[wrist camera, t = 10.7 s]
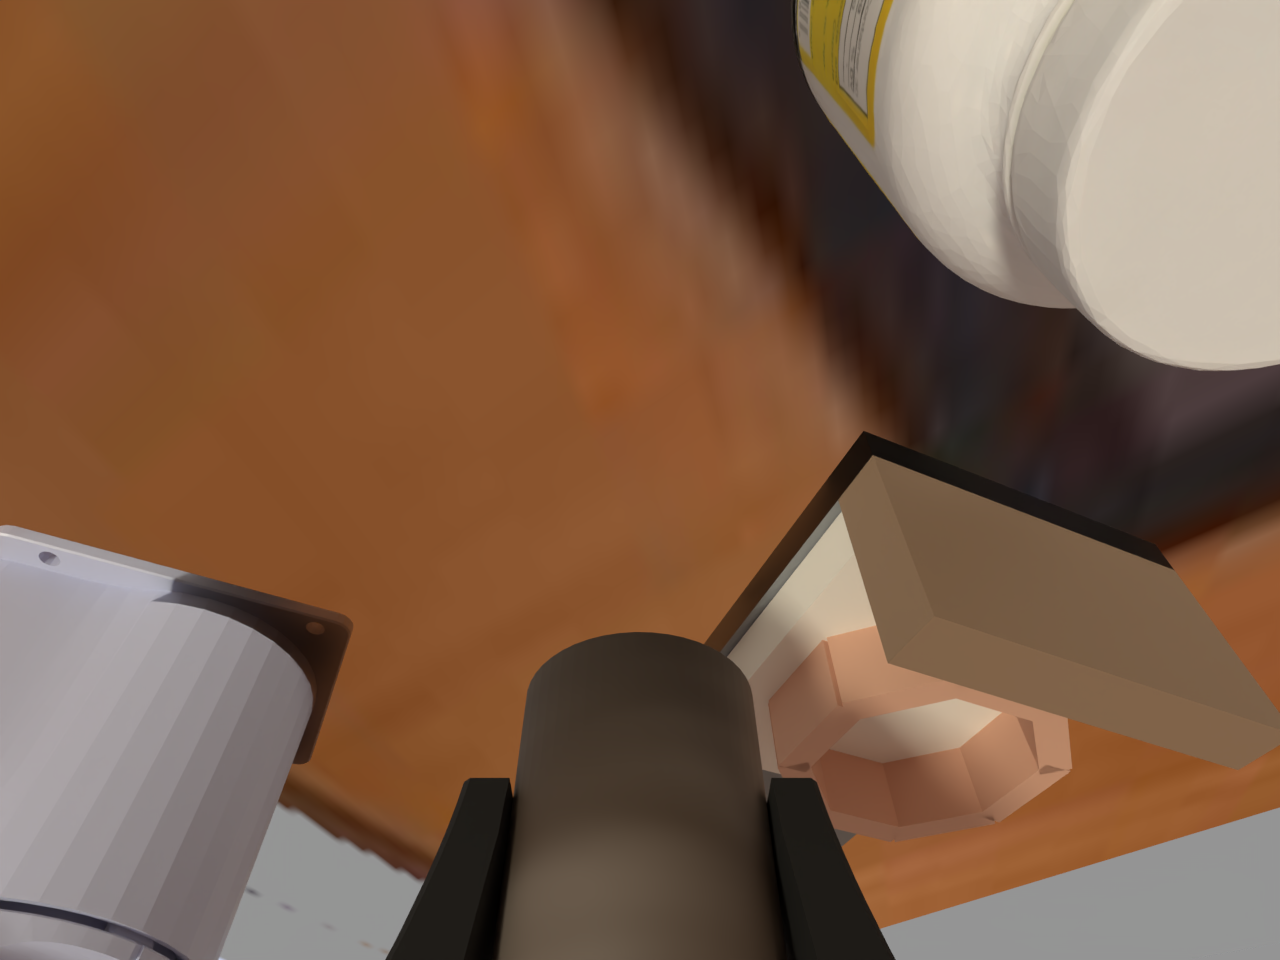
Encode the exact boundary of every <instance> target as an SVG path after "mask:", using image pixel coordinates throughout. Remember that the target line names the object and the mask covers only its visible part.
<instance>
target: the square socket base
mask: <svg viewBox="0 0 1280 960" xmlns="http://www.w3.org/2000/svg"><path fill="white" fill-rule="evenodd" d="M727 658H729V659H730V660H731V661H733V662H734V663H735V664H736V665H737V666H738V667H739V668H740V670H741V671H742V672H743V674H744V675H745V677H746V678H747V680H748V682H749V685H750V687H751V691H752V695H753V703H754V711H755V718H756V726H757V733H758V741H759V748H760V756H761V764H762V770H766V771H770V772H774V773H778V774H781V776H782V778H812V779H813V780H815V781H816V782H817V784H818V787H819V790H820V793H821V796H822V798H823V801H824V804H825V807H826V809H827V812H828V815H829V817H830V820H831V822H832V825H833V827H834V829H838V830H842V831H846V832H851V833H855V834H859V835H863V836H867V837H872V838H876V839H880V840H884V841H888V842H891V841H893V840H895V842H898V841H904V840H909V839H915V838H920V837H926V836H931V835H937V834H942V833H948V832H953V831H959V830H964V829H970V828H975V827H981V826H986V825H992V824H995V821H997V822H1001V821H1002V820H1003V819H1005V818H1006V817H1008V816H1009V815H1010V814H1012V813H1013V812H1015V811H1016V810H1017V809H1019V808H1020V807H1022V806H1023V805H1024V804H1026V803H1027V802H1029V801H1030V800H1031V799H1033V798H1034V797H1036V796H1037V795H1038V794H1040V793H1041V792H1043V791H1044V790H1045V789H1047V788H1048V787H1050V786H1051V785H1052V784H1054V783H1055V782H1057V781H1058V780H1059V779H1061V778H1062V777H1064V776H1065V775H1066V774H1068V773H1069V772H1070V770H1069V769H1072V761H1071V750H1070V739H1069V729H1068V718H1065V717H1062V716H1059V715H1056V714H1052V713H1049V712H1046V711H1043V710H1039V709H1036V708H1033V707H1029V706H1026V705H1023V704H1020V703H1016V702H1013V701H1010V700H1006V699H1003V698H1000V697H997V696H993V695H990V694H987V693H984V692H980V691H977V690H974V689H970V688H967V687H964V686H961V685H957V684H954V683H951V682H948V681H944V680H941V679H938V678H934V677H931V676H928V675H925V674H921V673H918V672H915V671H911V670H908V669H905V668H902V667H898V666H895V665H892V664H889V663H888V662H887V659H886V656H885V652H884V649H883V646H882V643H881V639H880V636H879V633H878V629H877V626H876V623H875V620H874V616H873V613H872V610H871V606H870V603H869V600H868V596H867V593H866V590H865V587H864V583H863V580H862V577H861V573H860V570H859V567H858V564H857V560H856V557H855V554H854V550H853V547H852V544H851V540H850V537H849V534H848V531H847V527H846V524H845V521H844V517H843V514H842V512H841V513H840V514H839V515H838V517H837V518H836V519H835V520H834V522H833V523H832V524H831V526H830V527H829V528H828V529H827V531H826V532H825V533H824V534H823V536H822V537H821V538H820V540H819V541H818V542H817V543H816V545H815V546H814V547H813V548H812V550H811V551H810V552H809V553H808V555H807V556H806V557H805V559H804V560H803V561H802V562H801V564H800V565H799V566H798V567H797V569H796V570H795V571H794V572H793V574H792V575H791V576H790V578H789V579H788V580H787V581H786V583H785V584H784V585H783V586H782V588H781V589H780V590H779V592H778V593H777V594H776V595H775V597H774V598H773V599H772V600H771V602H770V603H769V604H768V605H767V607H766V608H765V609H764V611H763V612H762V613H761V614H760V616H759V617H758V618H757V619H756V621H755V622H754V623H753V625H752V626H751V627H750V628H749V630H748V631H747V632H746V633H745V635H744V636H743V637H742V638H741V640H740V641H739V642H738V644H737V645H736V646H735V647H734V649H733V650H732V651H731V652H730V654H729V655H728V656H727Z"/></svg>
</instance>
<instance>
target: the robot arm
mask: <svg viewBox="0 0 1280 960" xmlns="http://www.w3.org/2000/svg"><path fill="white" fill-rule="evenodd" d="M318 623H319V624H318ZM352 631H353V623H352V621H351V619H349V618H348V617H347V616H346V615H343V614H341V613H338V612H334V611H330V610H326V609H323V608H319V607H315V606H312V605H308V604H304V603H300V602H297V601H293V600H289V599H286V598H282V597H278V596H274V595H271V594H267V593H263V592H259V591H256V590H252V589H248V588H245V587H241V586H237V585H233V584H230V583H226V582H222V581H219V580H215V579H211V578H207V577H204V576H200V575H196V574H192V573H189V572H185V571H181V570H178V569H174V568H170V567H166V566H163V565H159V564H155V563H152V562H148V561H144V560H140V559H137V558H133V557H129V556H125V555H122V554H118V553H114V552H111V551H107V550H103V549H99V548H96V547H92V546H88V545H85V544H81V543H77V542H73V541H70V540H66V539H62V538H58V537H55V536H51V535H47V534H44V533H40V532H36V531H32V530H29V529H25V528H21V527H18V526H12V525H3V526H0V960H219V957H220V954H221V952H222V949H223V946H224V944H225V941H226V938H227V936H228V933H229V930H230V928H231V925H232V922H233V920H234V917H235V914H236V912H237V909H238V906H239V904H240V901H241V898H242V896H243V893H244V890H245V888H246V885H247V882H248V880H249V877H250V874H251V872H252V869H253V866H254V864H255V861H256V858H257V856H258V853H259V850H260V848H261V845H262V842H263V840H264V837H265V835H266V832H267V829H268V827H269V824H270V821H271V819H272V816H273V813H274V811H275V808H276V805H277V803H278V800H279V797H280V795H281V792H282V789H283V787H284V784H285V781H286V779H287V776H288V773H289V771H290V768H291V765H292V764H305V763H307V762H309V761H310V759H311V757H312V754H313V751H314V748H315V745H316V742H317V739H318V736H319V733H320V730H321V727H322V724H323V721H324V717H325V714H326V711H327V708H328V705H329V702H330V699H331V696H332V693H333V690H334V687H335V683H336V680H337V677H338V674H339V671H340V668H341V665H342V662H343V659H344V656H345V653H346V649H347V646H348V643H349V640H350V637H351V634H352ZM512 803H513V794H512V789H511V783H510V778H469V779H468V780H466V781H465V782H464V783H463V786H462V789H461V792H460V795H459V798H458V801H457V804H456V807H455V809H454V812H453V814H452V817H451V820H450V822H449V825H448V827H447V830H446V832H445V835H444V837H443V840H442V842H441V844H440V847H439V849H438V851H437V854H436V856H435V858H434V860H433V863H432V865H431V867H430V870H429V872H428V874H427V876H426V879H425V881H424V883H423V885H422V887H421V889H420V891H419V893H418V895H417V897H416V899H415V901H414V904H413V906H412V908H411V910H410V912H409V914H408V916H407V918H406V920H405V922H404V924H403V926H402V928H401V930H400V932H399V934H398V936H397V938H396V940H395V942H394V944H393V946H392V948H391V950H390V952H389V954H388V955H387V957H386V959H385V960H492V953H493V946H494V938H495V931H496V923H497V916H498V908H499V901H500V893H501V886H502V878H503V870H504V863H505V855H506V848H507V840H508V833H509V825H510V818H511V810H512ZM767 809H768V817H769V824H770V832H771V839H772V847H773V855H774V862H775V870H776V877H777V885H778V893H779V900H780V908H781V915H782V923H783V930H784V938H785V946H786V953H787V960H896V959H895V957H894V955H893V954H892V952H891V950H890V948H889V946H888V944H887V942H886V940H885V938H884V936H883V934H882V932H881V930H880V928H879V926H878V924H877V922H876V920H875V918H874V916H873V914H872V912H871V910H870V908H869V906H868V904H867V902H866V900H865V898H864V896H863V893H862V891H861V889H860V887H859V885H858V883H857V881H856V879H855V876H854V874H853V872H852V870H851V867H850V865H849V863H848V861H847V858H846V856H845V854H844V851H843V849H842V847H841V844H840V842H839V840H838V837H837V835H836V832H835V830H834V827H833V825H832V822H831V820H830V817H829V815H828V812H827V809H826V807H825V804H824V801H823V798H822V796H821V793H820V790H819V787H818V784H817V782H816V781H815V780H813V779H812V778H771V783H770V789H769V794H768V799H767Z"/></svg>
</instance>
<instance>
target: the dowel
mask: <svg viewBox="0 0 1280 960" xmlns="http://www.w3.org/2000/svg"><path fill="white" fill-rule="evenodd" d="M492 960H787V953H786V946H785V938H784V930H783V923H782V915H781V908H780V900H779V893H778V885H777V877H776V870H775V862H774V855H773V847H772V839H771V832H770V824H769V817H768V809H767V802H766V794H765V786H764V779H763V771H762V764H761V756H760V748H759V741H758V733H757V726H756V718H755V711H754V703H753V695H752V691H751V687H750V685H749V682H748V680H747V678H746V677H745V675H744V674H743V672H742V671H741V670H740V668H739V667H738V666H737V665H736V664H735V663H734V662H733V661H731V660H730V659H729V658H727V657H726V656H725V655H723V654H722V653H720V652H718V651H717V650H715V649H713V648H711V647H709V646H707V645H704V644H702V643H700V642H697V641H694V640H691V639H687V638H684V637H680V636H675V635H670V634H662V633H653V632H627V633H616V634H610V635H603V636H599V637H595V638H591V639H588V640H585V641H582V642H580V643H577V644H574V645H572V646H570V647H568V648H566V649H564V650H562V651H560V652H559V653H557V654H556V655H554V656H553V657H551V658H550V659H549V660H548V661H547V662H545V663H544V664H543V665H542V666H541V667H540V669H539V670H538V671H537V672H536V673H535V675H534V677H533V678H532V680H531V682H530V685H529V687H528V690H527V697H526V704H525V712H524V719H523V727H522V735H521V742H520V750H519V757H518V765H517V772H516V780H515V787H514V795H513V803H512V810H511V818H510V825H509V833H508V840H507V848H506V855H505V863H504V870H503V878H502V886H501V893H500V901H499V908H498V916H497V923H496V931H495V938H494V946H493V953H492Z"/></svg>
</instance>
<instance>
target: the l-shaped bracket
mask: <svg viewBox="0 0 1280 960" xmlns="http://www.w3.org/2000/svg"><path fill="white" fill-rule="evenodd" d="M841 512H842V514H843V517H844V521H845V524H846V527H847V531H848V534H849V537H850V540H851V544H852V547H853V550H854V554H855V557H856V560H857V564H858V567H859V570H860V573H861V577H862V580H863V583H864V587H865V590H866V593H867V596H868V600H869V603H870V606H871V610H872V613H873V616H874V620H875V623H876V626H877V629H878V633H879V636H880V639H881V643H882V646H883V649H884V652H885V656H886V659H887V662H888V663H889V664H892V665H895V666H898V667H902V668H905V669H908V670H911V671H915V672H918V673H921V674H925V675H928V676H931V677H934V678H938V679H941V680H944V681H948V682H951V683H954V684H957V685H961V686H964V687H967V688H970V689H974V690H977V691H980V692H984V693H987V694H990V695H993V696H997V697H1000V698H1003V699H1006V700H1010V701H1013V702H1016V703H1020V704H1023V705H1026V706H1029V707H1033V708H1036V709H1039V710H1043V711H1046V712H1049V713H1052V714H1056V715H1059V716H1062V717H1065V718H1069V719H1072V720H1075V721H1079V722H1082V723H1085V724H1088V725H1092V726H1095V727H1098V728H1101V729H1105V730H1108V731H1111V732H1115V733H1118V734H1121V735H1124V736H1128V737H1131V738H1134V739H1138V740H1141V741H1144V742H1147V743H1151V744H1154V745H1157V746H1160V747H1164V748H1167V749H1170V750H1174V751H1177V752H1180V753H1183V754H1187V755H1190V756H1193V757H1196V758H1200V759H1203V760H1206V761H1210V762H1213V763H1216V764H1219V765H1223V766H1226V767H1229V768H1233V769H1236V770H1239V769H1241V768H1243V767H1244V766H1246V765H1248V764H1249V763H1251V762H1253V761H1254V760H1256V759H1257V758H1259V757H1261V756H1262V755H1264V754H1266V753H1267V752H1269V751H1270V750H1272V749H1274V748H1275V747H1277V746H1279V745H1280V713H1279V711H1278V710H1277V709H1276V707H1275V706H1274V705H1273V703H1272V702H1271V701H1270V699H1269V698H1268V697H1267V695H1266V694H1265V692H1264V691H1263V690H1262V688H1261V687H1260V686H1259V684H1258V683H1257V682H1256V680H1255V679H1254V678H1253V676H1252V675H1251V673H1250V672H1249V671H1248V669H1247V668H1246V667H1245V665H1244V664H1243V663H1242V661H1241V660H1240V659H1239V657H1238V656H1237V654H1236V653H1235V652H1234V650H1233V649H1232V648H1231V646H1230V645H1229V644H1228V642H1227V641H1226V639H1225V638H1224V637H1223V635H1222V634H1221V633H1220V631H1219V630H1218V629H1217V627H1216V626H1215V625H1214V623H1213V622H1212V620H1211V619H1210V618H1209V616H1208V615H1207V614H1206V612H1205V611H1204V610H1203V608H1202V607H1201V606H1200V604H1199V603H1198V601H1197V600H1196V599H1195V597H1194V596H1193V595H1192V593H1191V592H1190V591H1189V589H1188V588H1187V587H1186V585H1185V584H1184V582H1183V581H1182V580H1181V578H1180V577H1179V576H1178V574H1177V573H1176V572H1175V570H1174V569H1173V567H1172V566H1171V565H1170V563H1169V562H1168V561H1167V559H1166V558H1165V557H1164V555H1163V554H1162V553H1161V551H1160V550H1159V548H1158V547H1157V546H1156V544H1153V543H1151V542H1148V541H1146V540H1143V539H1140V538H1138V537H1135V536H1133V535H1130V534H1128V533H1125V532H1122V531H1120V530H1117V529H1115V528H1112V527H1110V526H1107V525H1104V524H1102V523H1099V522H1097V521H1094V520H1092V519H1089V518H1087V517H1084V516H1081V515H1079V514H1076V513H1074V512H1071V511H1069V510H1066V509H1063V508H1061V507H1058V506H1056V505H1053V504H1051V503H1048V502H1045V501H1043V500H1040V499H1038V498H1035V497H1033V496H1030V495H1027V494H1025V493H1022V492H1020V491H1017V490H1015V489H1012V488H1009V487H1007V486H1004V485H1002V484H999V483H997V482H994V481H991V480H989V479H986V478H984V477H981V476H979V475H976V474H974V473H971V472H968V471H966V470H963V469H961V468H958V467H956V466H953V465H950V464H948V463H945V462H943V461H940V460H938V459H935V458H932V457H930V456H927V455H925V454H922V453H920V452H917V451H914V450H912V449H909V448H907V447H904V446H902V445H899V444H896V443H894V442H891V441H889V440H886V439H884V438H881V437H879V436H876V435H873V434H871V433H868V432H866V431H863V432H862V433H861V435H860V436H859V437H858V439H857V440H856V441H855V443H854V444H853V445H852V447H851V448H850V449H849V451H848V452H847V453H846V455H845V456H844V457H843V459H842V460H841V461H840V463H839V464H838V465H837V467H836V468H835V469H834V471H833V472H832V473H831V475H830V476H829V477H828V479H827V480H826V481H825V483H824V484H823V485H822V487H821V488H820V489H819V491H818V492H817V493H816V495H815V496H814V497H813V499H812V500H811V501H810V503H809V504H808V506H807V507H806V508H805V510H804V511H803V512H802V514H801V515H800V516H799V518H798V519H797V520H796V522H795V523H794V524H793V526H792V527H791V528H790V530H789V531H788V532H787V534H786V535H785V536H784V538H783V539H782V540H781V542H780V543H779V544H778V546H777V547H776V548H775V550H774V551H773V552H772V554H771V555H770V556H769V558H768V559H767V560H766V562H765V563H764V564H763V566H762V567H761V568H760V570H759V571H758V572H757V574H756V575H755V576H754V578H753V579H752V580H751V582H750V583H749V584H748V586H747V587H746V588H745V590H744V591H743V592H742V594H741V595H740V596H739V598H738V599H737V600H736V602H735V603H734V604H733V606H732V607H731V608H730V610H729V611H728V612H727V614H726V615H725V616H724V618H723V619H722V620H721V622H720V623H719V624H718V626H717V627H716V628H715V630H714V631H713V632H712V634H711V635H710V636H709V638H708V639H707V640H706V642H705V643H704V645H707V646H709V647H711V648H713V649H715V650H717V651H718V652H720V653H722V654H723V655H725V656H726V657H727V656H728V655H729V654H730V652H731V651H732V650H733V649H734V647H735V646H736V645H737V644H738V642H739V641H740V640H741V638H742V637H743V636H744V635H745V633H746V632H747V631H748V630H749V628H750V627H751V626H752V625H753V623H754V622H755V621H756V619H757V618H758V617H759V616H760V614H761V613H762V612H763V611H764V609H765V608H766V607H767V605H768V604H769V603H770V602H771V600H772V599H773V598H774V597H775V595H776V594H777V593H778V592H779V590H780V589H781V588H782V586H783V585H784V584H785V583H786V581H787V580H788V579H789V578H790V576H791V575H792V574H793V572H794V571H795V570H796V569H797V567H798V566H799V565H800V564H801V562H802V561H803V560H804V559H805V557H806V556H807V555H808V553H809V552H810V551H811V550H812V548H813V547H814V546H815V545H816V543H817V542H818V541H819V540H820V538H821V537H822V536H823V534H824V533H825V532H826V531H827V529H828V528H829V527H830V526H831V524H832V523H833V522H834V520H835V519H836V518H837V517H838V515H839V514H840V513H841ZM762 771H763V779H764V786H765V794H766V802H767V799H768V794H769V789H770V783H771V778H782V776H781V774H778V773H774V772H770V771H766V770H762ZM834 830H835V832H836V835H837V837H838V840H839V842H840V844H841V847H842V846H843V845H844V844H845V843H847V842H848V841H849V840H850V839H851V838H853V837H854V836H855V835H856V834H855V833H851V832H846V831H842V830H838V829H834Z"/></svg>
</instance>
